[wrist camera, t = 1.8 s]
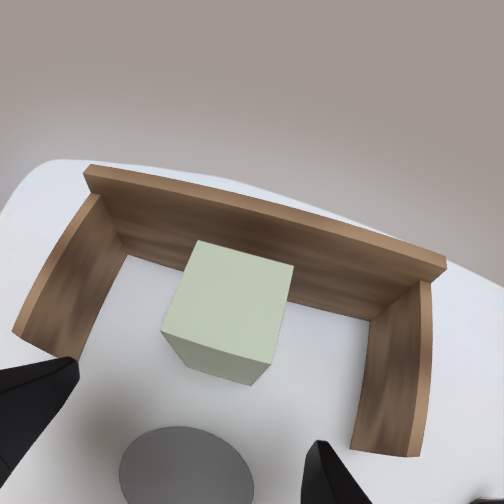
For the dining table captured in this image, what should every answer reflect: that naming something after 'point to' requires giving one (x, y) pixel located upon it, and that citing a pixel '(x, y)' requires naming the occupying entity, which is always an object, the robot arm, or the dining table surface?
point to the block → (228, 312)
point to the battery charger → (489, 501)
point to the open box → (262, 245)
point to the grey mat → (184, 469)
